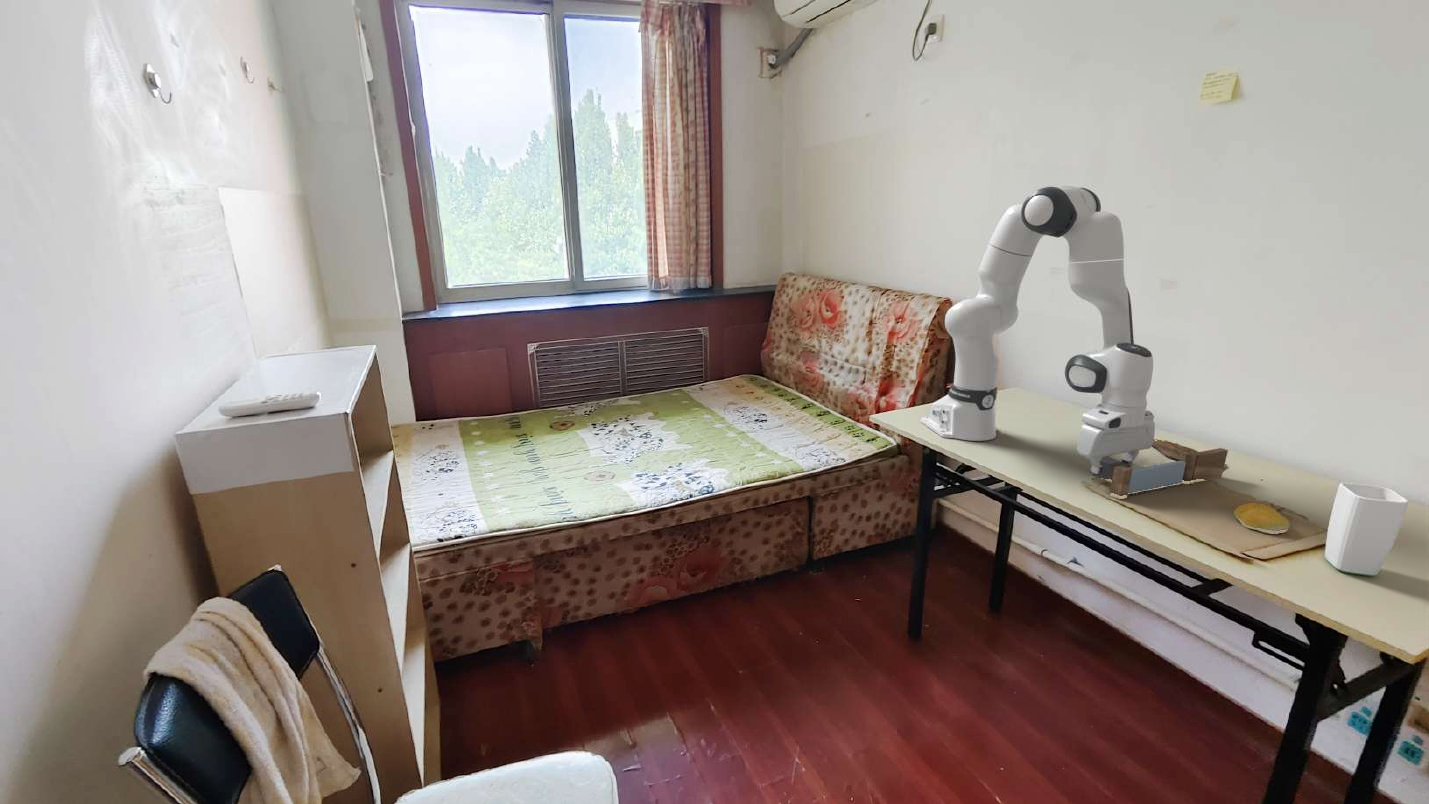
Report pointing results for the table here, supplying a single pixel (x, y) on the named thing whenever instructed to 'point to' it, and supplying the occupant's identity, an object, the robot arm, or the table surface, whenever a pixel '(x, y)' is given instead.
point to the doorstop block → (1109, 467)
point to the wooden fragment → (1174, 450)
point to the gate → (1156, 476)
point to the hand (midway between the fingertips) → (1111, 469)
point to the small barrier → (1195, 468)
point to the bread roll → (1261, 517)
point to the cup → (1363, 527)
